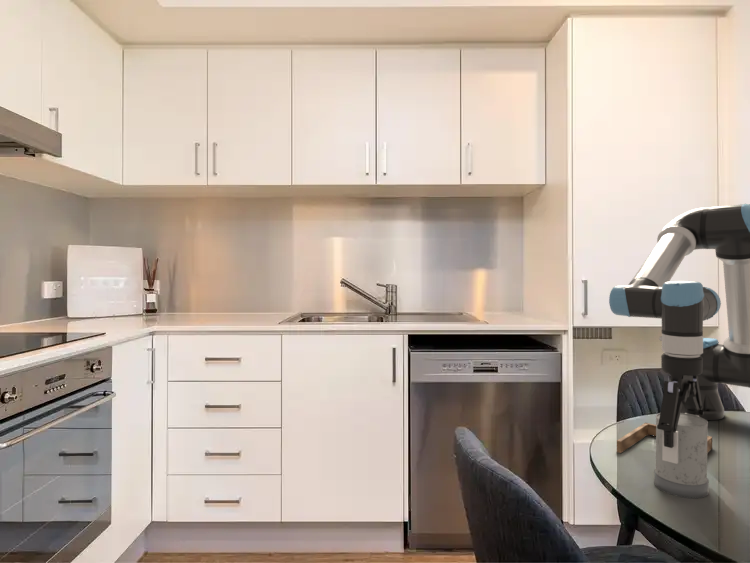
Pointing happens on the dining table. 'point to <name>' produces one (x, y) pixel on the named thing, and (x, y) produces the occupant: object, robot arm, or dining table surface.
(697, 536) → the dining table surface
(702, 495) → the pedestal
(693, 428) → the grey marbled pot
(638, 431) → the frame
